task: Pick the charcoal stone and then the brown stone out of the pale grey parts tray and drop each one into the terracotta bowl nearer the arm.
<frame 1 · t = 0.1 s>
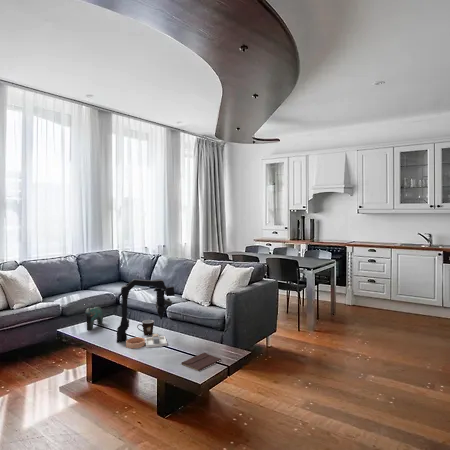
hand: (160, 317, 270), 15 cm above the table, tool pointing down, fingers open, 9 cm apart
parts tray: (155, 343, 257), on the table
brown stone: (155, 341, 260), point 1 cm above the table, touching parts tray
terracotta bowl: (135, 345, 253), on the table
coffee mug: (146, 334, 275), on the table
charcoal stone: (156, 344, 254), point 1 cm above the table, touching parts tray
notebook: (201, 363, 225), on the table
green animal figure: (94, 327, 295), on the table
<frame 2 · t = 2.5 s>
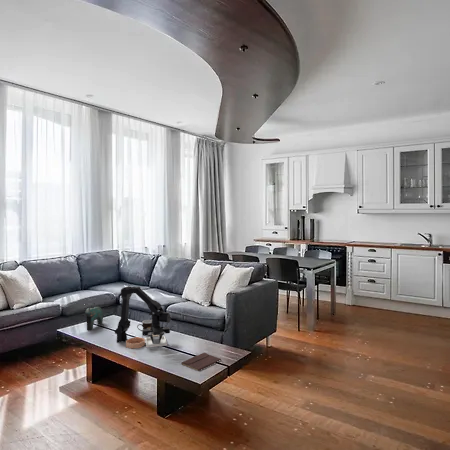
hand: (156, 343, 254), 1 cm above the table, tool pointing down, fingers closed on charcoal stone, 4 cm apart
charcoal stone: (156, 344, 254), point 1 cm above the table, touching gripper, parts tray
everything else where it was.
when the fingers open (4 cm above the table, at t = 5.9 s): charcoal stone drops 3 cm, resting on terracotta bowl.
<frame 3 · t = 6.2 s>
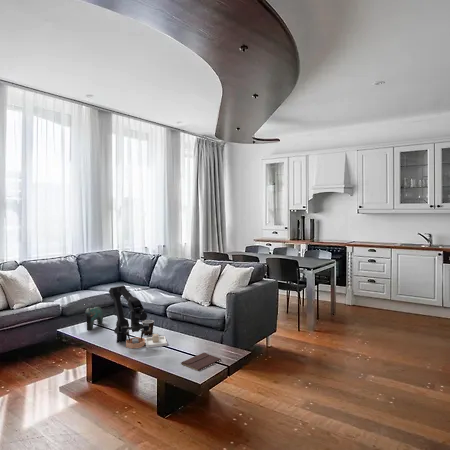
hand: (135, 340, 251), 4 cm above the table, tool pointing down, fingers open, 7 cm apart
charcoal stone: (135, 345, 251), point 1 cm above the table, touching terracotta bowl
everything else where it was.
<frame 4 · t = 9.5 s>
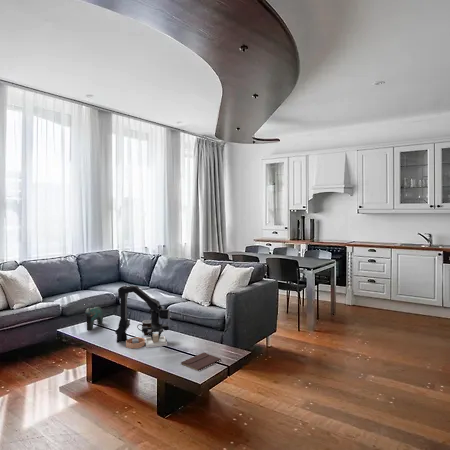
hand: (155, 340, 260), 1 cm above the table, tool pointing down, fingers closed on brown stone, 4 cm apart
brown stone: (155, 341, 260), point 1 cm above the table, touching gripper, parts tray
everything else where it was.
when the fingers open (4 cm above the table, at t = 12.9 s): brown stone drops 3 cm, resting on terracotta bowl.
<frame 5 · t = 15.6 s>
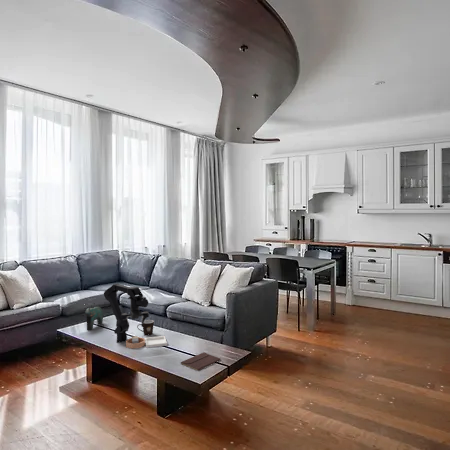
hand: (135, 327, 255), 12 cm above the table, tool pointing down, fingers open, 9 cm apart
brown stone: (134, 343, 256), point 1 cm above the table, touching terracotta bowl
everything else where it was.
at the end: charcoal stone inside the target area on the terracotta bowl (2.4 cm from its centre), point 0.6 cm above the terracotta bowl's base; brown stone inside the target area on the terracotta bowl (2.4 cm from its centre), point 0.6 cm above the terracotta bowl's base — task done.
